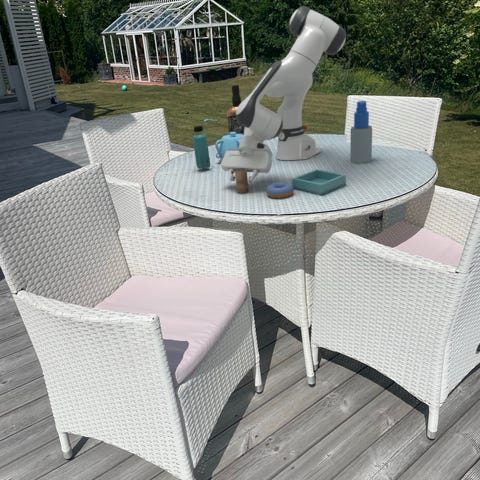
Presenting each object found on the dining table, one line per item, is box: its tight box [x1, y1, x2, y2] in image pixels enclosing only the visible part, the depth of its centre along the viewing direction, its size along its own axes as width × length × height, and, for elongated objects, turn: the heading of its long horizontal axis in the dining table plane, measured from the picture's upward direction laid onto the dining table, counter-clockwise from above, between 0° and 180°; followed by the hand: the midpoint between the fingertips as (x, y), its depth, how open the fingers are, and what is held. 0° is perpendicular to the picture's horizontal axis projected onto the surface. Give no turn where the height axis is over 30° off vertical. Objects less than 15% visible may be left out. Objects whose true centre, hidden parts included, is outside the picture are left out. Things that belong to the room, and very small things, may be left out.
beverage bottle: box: [192, 125, 211, 170], centre depth 202 cm, size 6×7×20 cm
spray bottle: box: [349, 100, 373, 165], centre depth 190 cm, size 9×9×25 cm
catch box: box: [291, 169, 347, 196], centre depth 168 cm, size 14×14×4 cm
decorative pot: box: [214, 132, 243, 161], centre depth 214 cm, size 16×16×14 cm
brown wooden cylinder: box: [234, 170, 250, 194], centre depth 171 cm, size 4×4×8 cm
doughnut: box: [266, 181, 295, 199], centre depth 164 cm, size 10×10×5 cm
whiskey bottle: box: [226, 84, 245, 135], centre depth 232 cm, size 10×10×32 cm
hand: (241, 181), depth 170 cm, fingers open, 7 cm apart
